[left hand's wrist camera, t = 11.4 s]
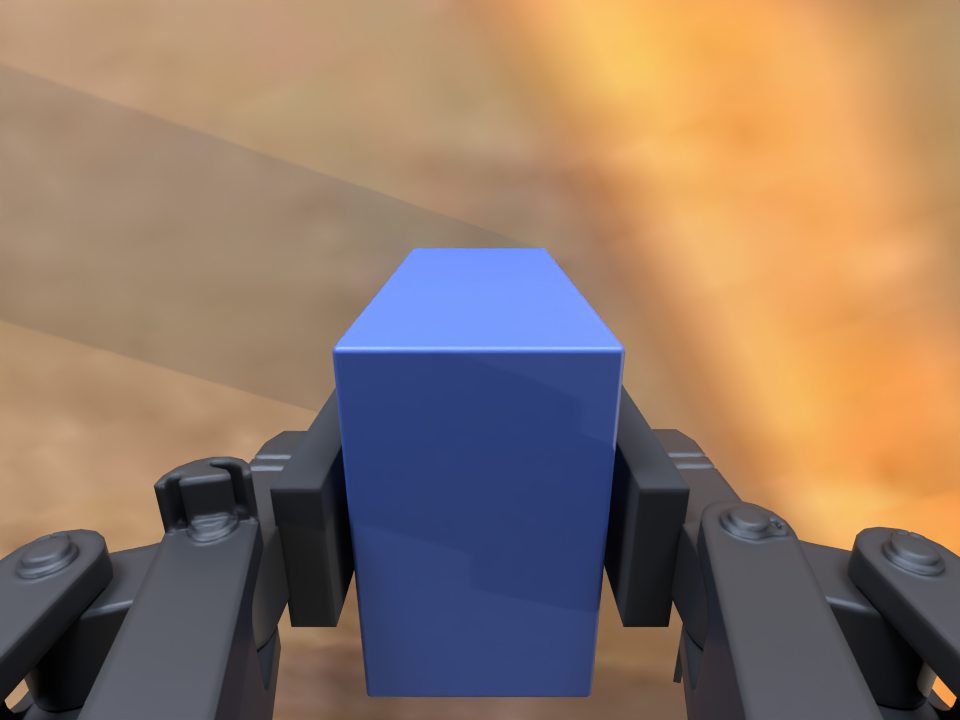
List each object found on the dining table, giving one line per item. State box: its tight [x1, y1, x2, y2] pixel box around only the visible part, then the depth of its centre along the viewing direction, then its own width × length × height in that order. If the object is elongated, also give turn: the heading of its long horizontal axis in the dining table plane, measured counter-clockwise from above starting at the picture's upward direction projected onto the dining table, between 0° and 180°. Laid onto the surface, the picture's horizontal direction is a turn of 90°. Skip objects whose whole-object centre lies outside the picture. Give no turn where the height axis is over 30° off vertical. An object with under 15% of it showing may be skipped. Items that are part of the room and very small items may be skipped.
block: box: [333, 248, 625, 697], centre depth 13 cm, size 4×7×10 cm, turn 0°
